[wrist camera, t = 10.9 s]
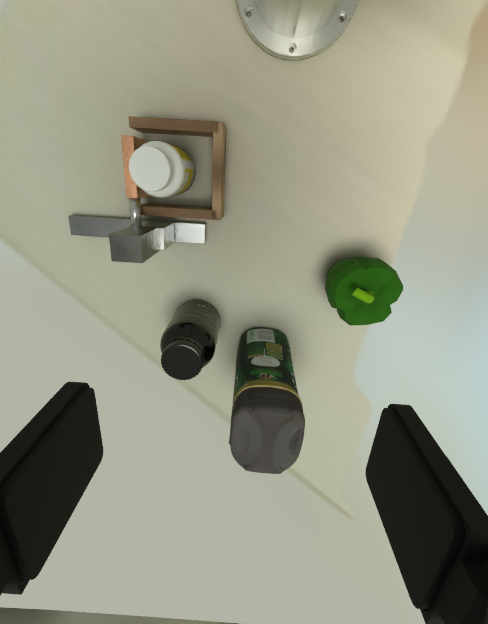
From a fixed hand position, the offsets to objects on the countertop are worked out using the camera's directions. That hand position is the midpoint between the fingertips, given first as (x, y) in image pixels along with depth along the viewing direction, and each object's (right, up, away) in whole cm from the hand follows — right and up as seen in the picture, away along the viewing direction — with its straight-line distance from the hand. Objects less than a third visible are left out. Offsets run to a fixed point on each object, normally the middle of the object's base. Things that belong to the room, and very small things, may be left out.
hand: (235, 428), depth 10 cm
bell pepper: (+15, +9, +33) cm, 37 cm away
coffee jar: (+3, -3, +38) cm, 39 cm away
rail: (-13, +15, +32) cm, 37 cm away
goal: (-7, +21, +29) cm, 36 cm away
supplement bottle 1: (-8, +21, +29) cm, 37 cm away
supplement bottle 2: (-6, +3, +37) cm, 37 cm away
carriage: (-10, +19, +29) cm, 36 cm away
